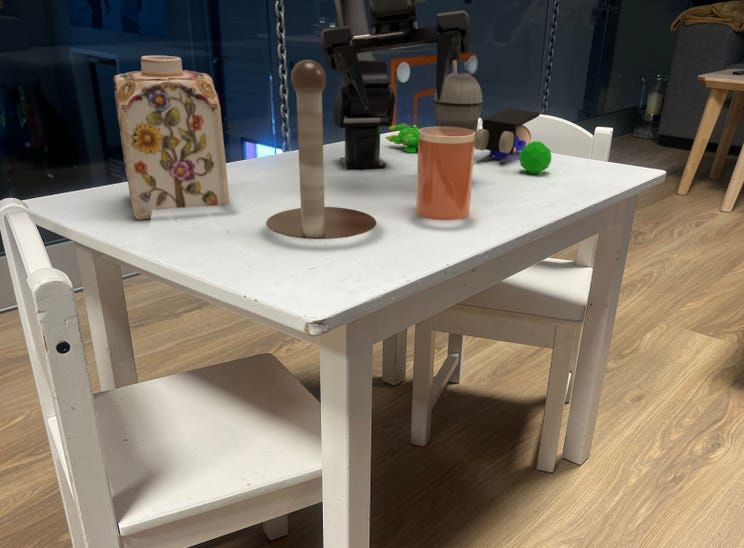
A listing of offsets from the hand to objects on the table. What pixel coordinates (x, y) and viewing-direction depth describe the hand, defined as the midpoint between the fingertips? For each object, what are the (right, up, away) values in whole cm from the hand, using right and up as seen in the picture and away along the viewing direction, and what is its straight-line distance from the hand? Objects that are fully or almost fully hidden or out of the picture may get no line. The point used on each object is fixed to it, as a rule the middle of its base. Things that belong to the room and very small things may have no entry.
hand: (402, 103), depth 91 cm
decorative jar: (-29, -12, +3) cm, 32 cm away
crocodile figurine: (+5, +4, +38) cm, 38 cm away
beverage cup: (+8, -6, +18) cm, 21 cm away
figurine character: (+18, +3, +35) cm, 40 cm away
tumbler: (+5, -15, 0) cm, 16 cm away
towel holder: (-10, -17, -5) cm, 20 cm away
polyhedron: (+21, -2, +25) cm, 33 cm away
